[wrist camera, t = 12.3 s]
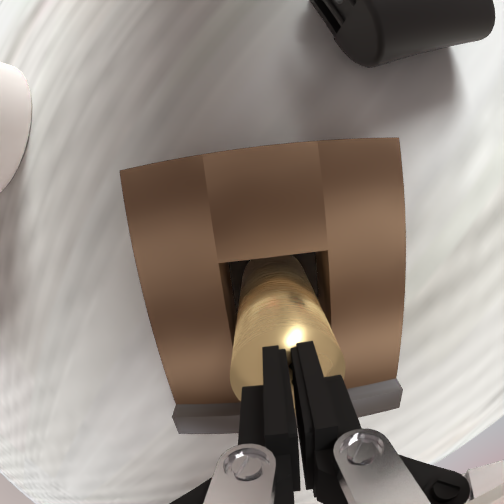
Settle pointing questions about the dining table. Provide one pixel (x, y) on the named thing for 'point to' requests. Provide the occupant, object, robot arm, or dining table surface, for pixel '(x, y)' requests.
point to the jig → (270, 245)
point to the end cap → (403, 26)
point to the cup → (13, 120)
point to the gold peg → (279, 321)
